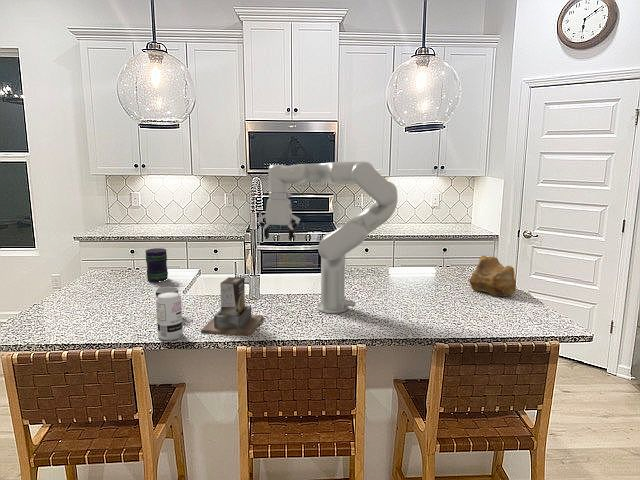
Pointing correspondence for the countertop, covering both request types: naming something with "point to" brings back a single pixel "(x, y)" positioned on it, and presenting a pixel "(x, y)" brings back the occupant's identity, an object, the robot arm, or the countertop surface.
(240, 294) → the coffee box
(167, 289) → the coffee mug
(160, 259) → the storage jar
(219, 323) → the holder stand
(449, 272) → the countertop surface
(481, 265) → the rough brown rock
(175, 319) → the supplement can
